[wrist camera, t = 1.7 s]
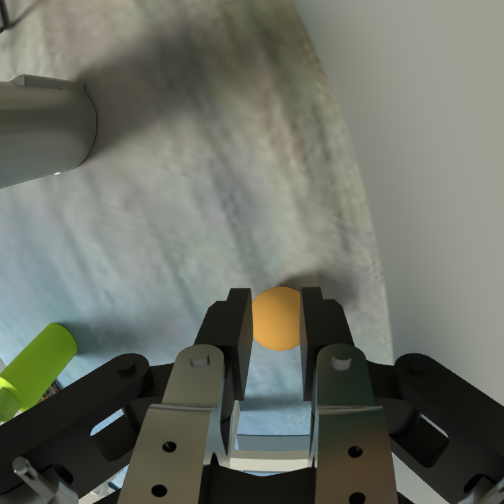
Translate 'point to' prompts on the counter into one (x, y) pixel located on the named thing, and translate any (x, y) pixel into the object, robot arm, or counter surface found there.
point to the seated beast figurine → (104, 487)
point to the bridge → (263, 455)
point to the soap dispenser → (35, 370)
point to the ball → (277, 318)
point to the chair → (1, 20)
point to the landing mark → (273, 445)
